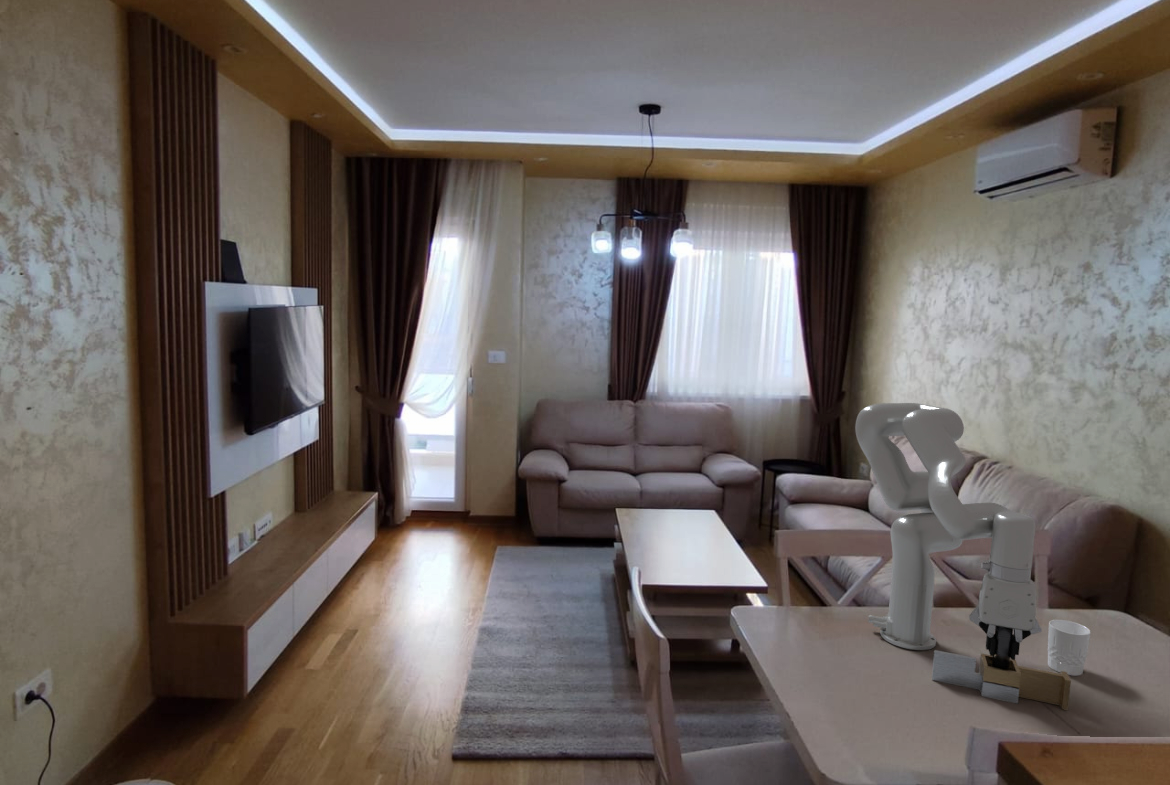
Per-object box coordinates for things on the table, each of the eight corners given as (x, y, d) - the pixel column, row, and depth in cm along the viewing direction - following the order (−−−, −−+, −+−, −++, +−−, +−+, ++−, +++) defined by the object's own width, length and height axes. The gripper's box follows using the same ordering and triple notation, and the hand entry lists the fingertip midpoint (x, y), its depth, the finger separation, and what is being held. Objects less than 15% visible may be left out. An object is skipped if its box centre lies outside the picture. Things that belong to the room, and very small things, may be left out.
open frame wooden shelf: (981, 695, 149) (984, 667, 148) (978, 680, 155) (980, 653, 155) (1069, 713, 143) (1072, 684, 143) (1061, 697, 149) (1064, 669, 149)
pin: (992, 672, 149) (997, 623, 148) (990, 666, 152) (995, 617, 151) (1009, 676, 148) (1014, 626, 147) (1007, 669, 151) (1012, 620, 150)
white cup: (1092, 679, 158) (1097, 636, 157) (1053, 674, 159) (1058, 632, 158) (1075, 662, 165) (1080, 621, 164) (1038, 658, 167) (1043, 617, 166)
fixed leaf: (932, 686, 153) (935, 657, 152) (931, 672, 159) (933, 644, 158) (1017, 703, 147) (1020, 674, 146) (1012, 688, 153) (1015, 659, 152)
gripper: (967, 571, 148) (959, 654, 150) (1059, 584, 141) (1050, 671, 143) (963, 559, 154) (956, 640, 157) (1051, 572, 148) (1043, 655, 150)
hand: (1001, 654), depth 150 cm, fingers closed on pin, 3 cm apart
